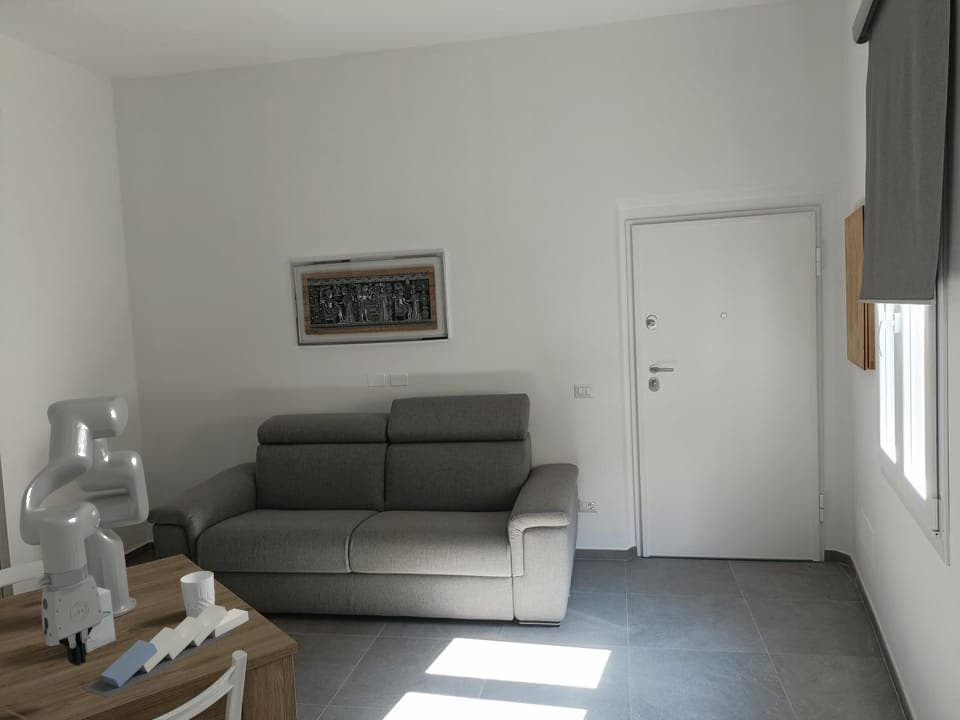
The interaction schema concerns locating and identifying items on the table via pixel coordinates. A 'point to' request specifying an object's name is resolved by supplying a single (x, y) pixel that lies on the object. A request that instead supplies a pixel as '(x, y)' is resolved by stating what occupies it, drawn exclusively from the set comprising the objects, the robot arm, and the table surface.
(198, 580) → the white cup
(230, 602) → the table surface
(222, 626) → the tile
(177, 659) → the runner mat
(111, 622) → the supplement box
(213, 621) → the tile
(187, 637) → the tile
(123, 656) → the tile
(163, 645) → the tile
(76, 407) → the robot arm
